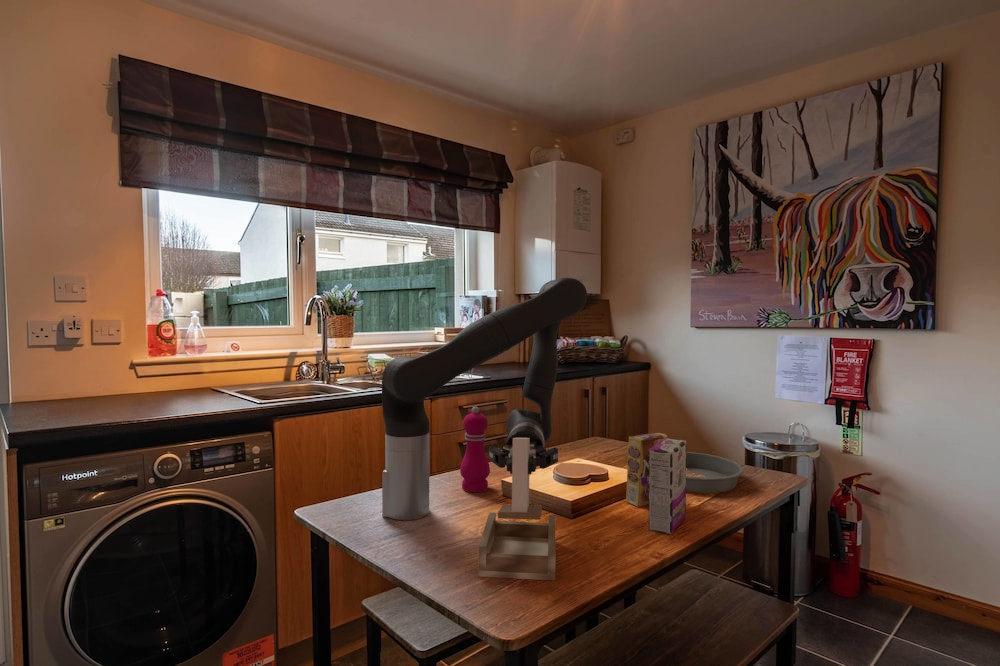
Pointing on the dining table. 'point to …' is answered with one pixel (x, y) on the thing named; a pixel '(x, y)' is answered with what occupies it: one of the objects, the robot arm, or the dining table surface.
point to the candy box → (640, 467)
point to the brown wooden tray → (517, 549)
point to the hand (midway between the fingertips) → (520, 468)
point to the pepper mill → (475, 453)
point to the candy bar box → (667, 485)
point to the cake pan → (711, 473)
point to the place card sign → (520, 485)
